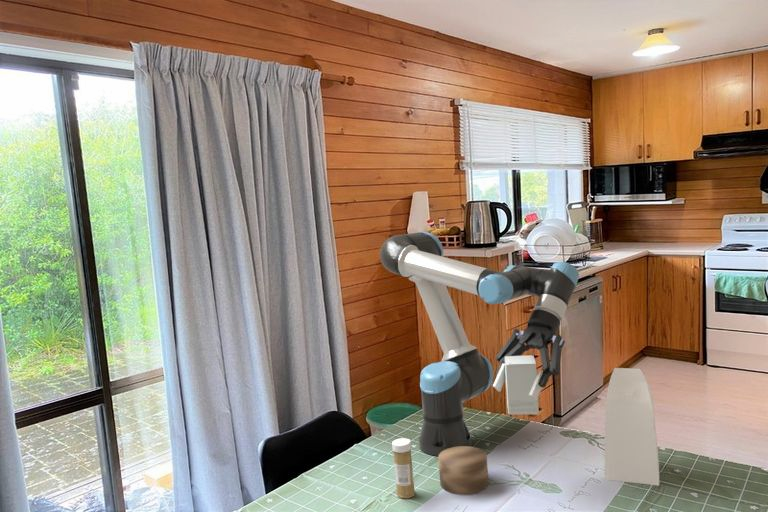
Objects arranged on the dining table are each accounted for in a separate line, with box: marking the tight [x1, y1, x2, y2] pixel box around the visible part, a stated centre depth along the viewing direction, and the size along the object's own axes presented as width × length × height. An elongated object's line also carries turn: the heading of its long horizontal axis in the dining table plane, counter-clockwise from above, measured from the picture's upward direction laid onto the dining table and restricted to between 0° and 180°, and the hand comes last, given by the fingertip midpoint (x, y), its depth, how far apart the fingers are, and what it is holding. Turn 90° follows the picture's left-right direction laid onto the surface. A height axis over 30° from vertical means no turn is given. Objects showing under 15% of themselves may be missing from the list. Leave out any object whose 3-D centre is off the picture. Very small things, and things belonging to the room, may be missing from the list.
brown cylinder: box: [437, 446, 490, 496], centre depth 144 cm, size 12×12×7 cm
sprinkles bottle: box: [391, 438, 416, 499], centre depth 140 cm, size 5×5×13 cm
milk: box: [604, 367, 660, 487], centre depth 142 cm, size 12×12×26 cm
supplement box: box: [505, 354, 540, 415], centre depth 141 cm, size 7×7×13 cm
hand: (514, 393), depth 140 cm, fingers closed on supplement box, 10 cm apart
